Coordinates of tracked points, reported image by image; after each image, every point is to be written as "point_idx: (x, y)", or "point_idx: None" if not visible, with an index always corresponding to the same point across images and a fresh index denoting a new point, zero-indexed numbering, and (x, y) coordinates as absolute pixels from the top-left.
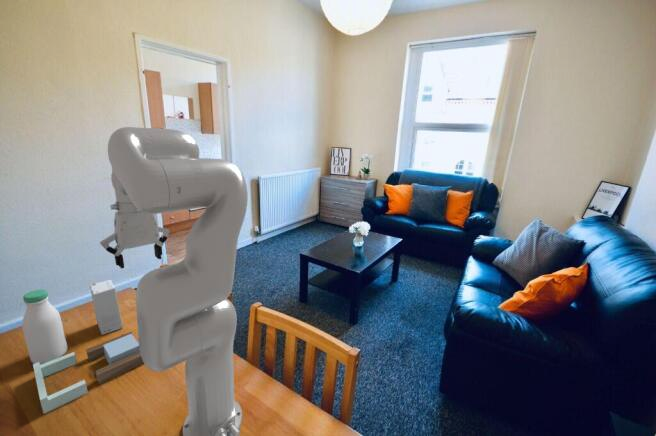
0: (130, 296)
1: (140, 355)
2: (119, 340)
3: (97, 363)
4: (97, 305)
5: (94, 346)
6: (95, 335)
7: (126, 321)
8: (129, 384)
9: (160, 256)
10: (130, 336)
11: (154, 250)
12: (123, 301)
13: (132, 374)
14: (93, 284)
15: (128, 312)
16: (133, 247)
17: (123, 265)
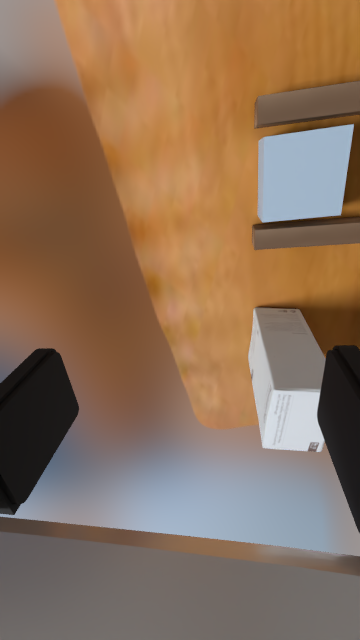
0: (204, 415)
1: (273, 96)
2: (299, 207)
3: (349, 195)
4: (322, 361)
5: (348, 241)
6: (309, 318)
7: (238, 329)
8: (328, 13)
9: (29, 360)
10: (269, 208)
11: (53, 451)
12: (221, 406)
13: (304, 66)
14: (313, 448)
15: (224, 361)
16: (270, 550)
17: (341, 362)
